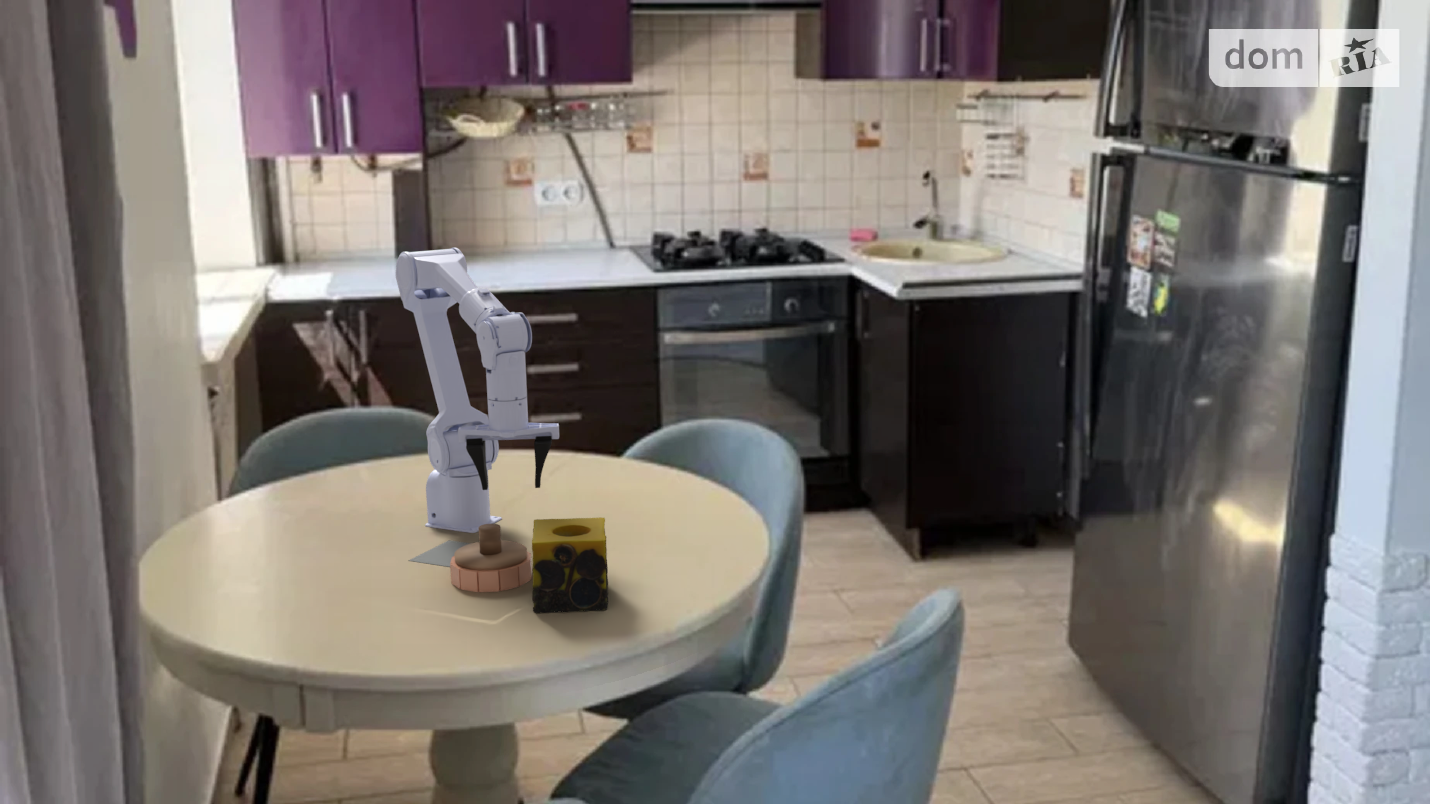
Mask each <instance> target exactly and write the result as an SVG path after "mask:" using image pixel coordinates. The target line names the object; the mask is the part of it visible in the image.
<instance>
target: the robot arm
mask: <svg viewBox="0 0 1430 804" xmlns="http://www.w3.org/2000/svg"><path fill="white" fill-rule="evenodd" d="M395 279H396V283H397V288H398V292H399V295H400V300H401V301H402V304H403V308H404V309H405V310H408V311H410V312H412V313H413V317H414V320H415V324H416V327H417V331H418V334H419V339H420V343H421V347H422V350H423V354H424V355H423V356H424V359H425V363H426V366H427V370H428V374H429V378H430V382H431V385H432V390H433V394H434V398H435V402H436V404H437V405H436V406H437V409H438V414H437V415H436V417H435V418H434V419H433V420H432V421H431V422H430V423H429V424H428V427H427V429H426V432H425V433H426V439H427V454H428V459H429V462H430V464H431V467H432V468H433V470H432V471H431V472H430V473H429V475H428V477H427V480H426V484H425V495H426V496H425V497H426V498H425V499H426V508H427V509H426V511H427V512H426V513H427V514H426V515H427V522H426V523H425V525H424V526H425V527H427V528H433V529H434V528H435V529H443V530H447V531H448V530H449V531H455V532H461V533H462V532H463V533H470V534H474V533H477V532H478V533H479V526H481V525H484V524H497V523H498V522H500V521H502V520H503V518H502V517H501V516H496V515H491V504H490V487H489V486H490V485H489V484H490V483H489V470H492V469H493V468H492V467H493V466H492V465H493V464H494V463H495V462H496V461H497V458H498V456H499V451H500V449H499V448H500V446H499V441H505V440H506V441H509V440H511V441H512V440H534V443H533V447H534V462H535V463H534V464H535V473H534V474H535V475H534V488H535V489H540V488H541V485H542V484H541V483H542V482H541V480H542V473H543V469H544V465H545V462H546V459H547V457H548V454H549V452H550V449H551V447H552V440H559V439H560V425H559V422H558V423H555V422H553V423H550V422H549V423H546V422H529V413H528V411H529V410H528V409H529V408H528V388H527V367H526V366H527V365H526V363H527V362H526V353H527V352H528V351H530V349H531V347H532V343H533V332H532V326H531V324H530V322H529V319H528V318H527V317H526V315H525V314H524V313H523V312H515V311H511V312H510V311H509V310H508V309H507V308H506V307H505V306H504V305H503V303H502V302H501V301H499V299H498V298H497V297H496V296H495V295H494V294H493V293H492V292H491V291H490V290H489V288H487V287H478V286H477V285H476V283H475V282H474V281H473V279H472V278H471V277H470V275H469V274H468V263H467V260H466V256H465V255H464V254H463V252H462V251H461V249H459V248H458V247H451V248H445V249H443V248H442V249H434V250H433V249H432V250H420V251H402V252H401V253H400V254H399V256H398V258H397V260H396V264H395ZM457 303H458V304H459V306H458V312H459V315H460V317H461V318H462V320H464V323H466V324H467V326H469V328H471V330H472V331H473V332H474V333H475V334H476V341H477V346H478V349H479V351H480V355H481V363H482V367H483V368H485V374H486V375H485V377H486V378H485V379H486V393H487V394H486V395H487V413H488V414H486V413H484V412H482V411H481V410H478V409H477V408H475V407H473V406H471V402H470V399H469V395H468V392H467V387H466V383H465V380H464V376H463V372H462V368H461V365H460V360H459V357H458V354H457V349H456V346H455V343H454V339H453V334H452V330H451V325H450V322H449V318H448V315H447V312H448V309H449V308H451V307H453V306H454V305H455V304H457Z"/></svg>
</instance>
